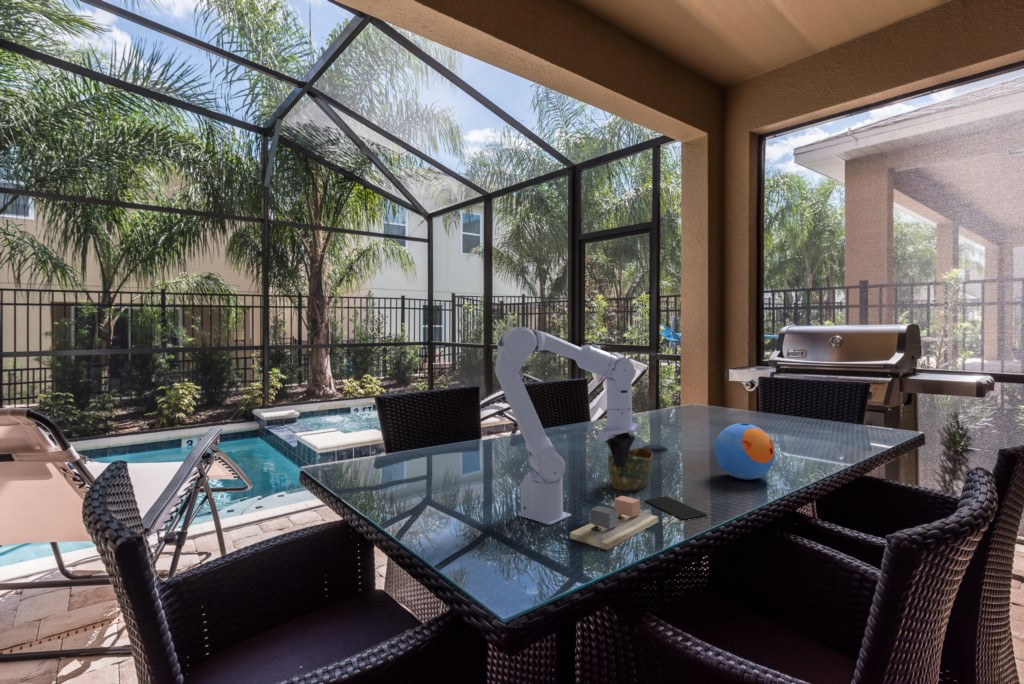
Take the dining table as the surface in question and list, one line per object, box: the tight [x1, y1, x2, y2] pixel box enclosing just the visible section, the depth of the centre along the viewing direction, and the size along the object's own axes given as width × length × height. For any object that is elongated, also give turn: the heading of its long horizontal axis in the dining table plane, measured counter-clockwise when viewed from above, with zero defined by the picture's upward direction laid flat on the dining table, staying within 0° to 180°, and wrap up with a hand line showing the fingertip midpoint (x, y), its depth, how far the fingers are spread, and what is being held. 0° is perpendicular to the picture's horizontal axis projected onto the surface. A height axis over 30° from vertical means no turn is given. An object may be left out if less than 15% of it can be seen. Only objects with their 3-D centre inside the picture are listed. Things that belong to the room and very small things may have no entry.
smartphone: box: [644, 495, 708, 521], centre depth 127 cm, size 7×1×15 cm
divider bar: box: [597, 509, 652, 541], centre depth 113 cm, size 1×19×1 cm, turn 137°
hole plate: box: [569, 514, 659, 551], centre depth 115 cm, size 9×20×1 cm, turn 136°
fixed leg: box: [590, 505, 618, 529], centre depth 111 cm, size 5×3×4 cm, turn 46°
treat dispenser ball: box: [714, 422, 776, 481], centre depth 151 cm, size 16×15×15 cm
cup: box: [607, 447, 654, 493], centre depth 147 cm, size 13×20×10 cm, turn 118°
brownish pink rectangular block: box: [613, 495, 641, 517], centre depth 117 cm, size 5×3×4 cm, turn 46°
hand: (620, 466), depth 127 cm, fingers closed
